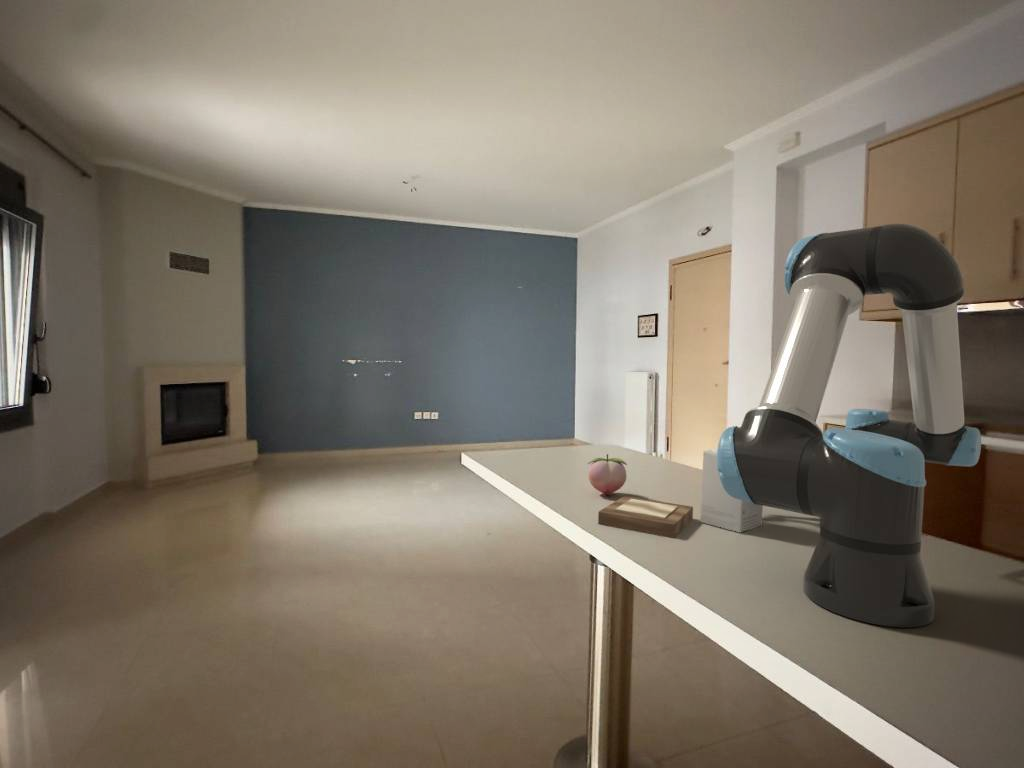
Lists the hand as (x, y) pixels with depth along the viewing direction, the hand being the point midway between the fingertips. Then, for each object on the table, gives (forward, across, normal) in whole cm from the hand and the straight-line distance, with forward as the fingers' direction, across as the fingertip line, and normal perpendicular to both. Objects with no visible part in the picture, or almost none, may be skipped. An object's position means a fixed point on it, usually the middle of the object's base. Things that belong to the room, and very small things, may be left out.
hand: (727, 485), depth 111 cm
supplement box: (-1, 0, -8) cm, 8 cm away
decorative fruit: (+17, +25, -8) cm, 31 cm away
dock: (+16, +3, -8) cm, 18 cm away
